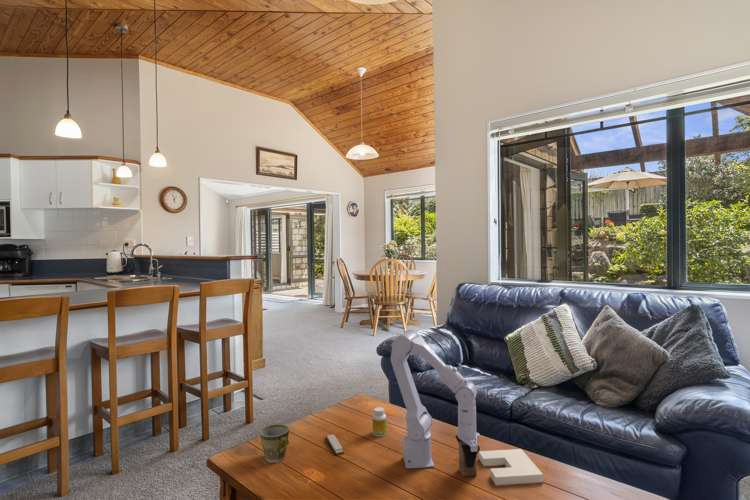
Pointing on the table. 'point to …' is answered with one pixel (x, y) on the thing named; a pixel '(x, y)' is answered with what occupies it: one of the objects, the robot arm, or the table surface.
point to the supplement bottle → (379, 422)
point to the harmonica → (334, 444)
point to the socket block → (511, 467)
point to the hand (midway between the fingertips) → (467, 462)
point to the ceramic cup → (274, 442)
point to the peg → (462, 463)
